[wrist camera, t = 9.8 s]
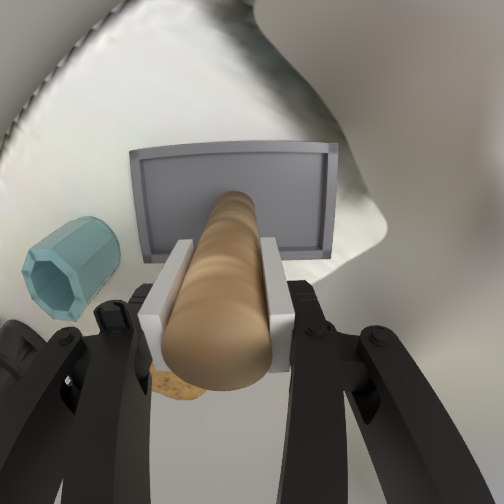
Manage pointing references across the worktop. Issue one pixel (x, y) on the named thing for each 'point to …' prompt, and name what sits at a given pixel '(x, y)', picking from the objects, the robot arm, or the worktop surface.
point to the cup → (71, 267)
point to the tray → (237, 179)
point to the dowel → (222, 304)
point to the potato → (173, 385)
